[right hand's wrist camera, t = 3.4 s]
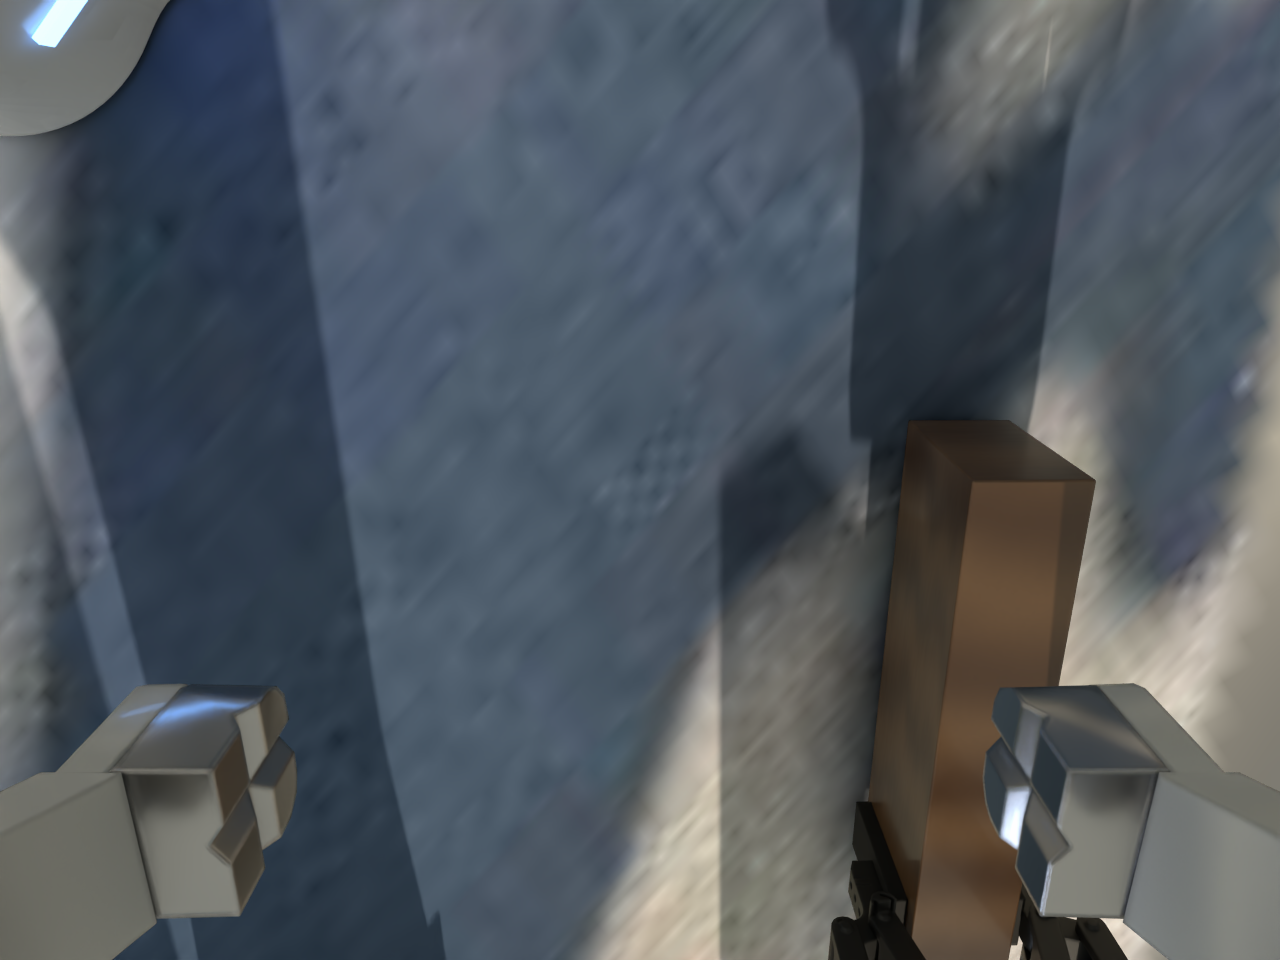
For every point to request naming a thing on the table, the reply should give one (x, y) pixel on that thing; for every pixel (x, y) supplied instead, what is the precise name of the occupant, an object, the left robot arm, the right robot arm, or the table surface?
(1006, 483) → the bar
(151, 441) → the table surface
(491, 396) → the table surface
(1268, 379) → the table surface
